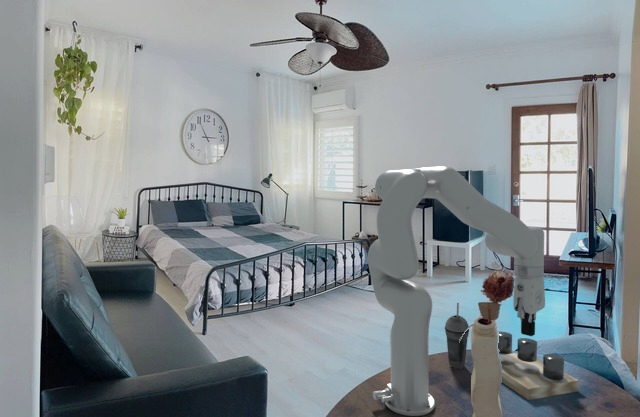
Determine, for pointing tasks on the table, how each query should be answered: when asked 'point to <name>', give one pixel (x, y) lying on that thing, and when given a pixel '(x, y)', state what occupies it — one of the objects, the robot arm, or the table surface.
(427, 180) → the robot arm
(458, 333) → the beverage cup
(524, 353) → the knob mid
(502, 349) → the knob left
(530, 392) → the mount plate
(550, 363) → the knob right
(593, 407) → the table surface
